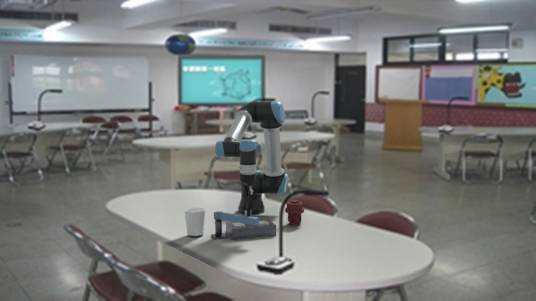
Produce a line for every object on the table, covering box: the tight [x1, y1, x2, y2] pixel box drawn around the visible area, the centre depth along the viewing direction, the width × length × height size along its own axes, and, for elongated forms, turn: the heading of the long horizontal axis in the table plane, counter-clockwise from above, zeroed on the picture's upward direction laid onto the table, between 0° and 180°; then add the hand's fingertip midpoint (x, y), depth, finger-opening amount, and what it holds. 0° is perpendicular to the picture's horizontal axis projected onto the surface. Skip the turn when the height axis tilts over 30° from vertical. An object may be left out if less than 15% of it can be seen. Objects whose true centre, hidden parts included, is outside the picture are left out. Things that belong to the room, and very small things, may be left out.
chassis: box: [225, 219, 277, 240], centre depth 263 cm, size 12×22×5 cm, turn 108°
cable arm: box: [213, 211, 260, 225], centre depth 252 cm, size 24×4×3 cm, turn 58°
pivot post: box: [210, 219, 227, 240], centre depth 258 cm, size 6×6×9 cm
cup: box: [184, 206, 206, 238], centre depth 261 cm, size 10×10×13 cm
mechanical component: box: [284, 199, 305, 226], centre depth 282 cm, size 12×10×10 cm
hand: (248, 223), depth 252 cm, fingers closed
